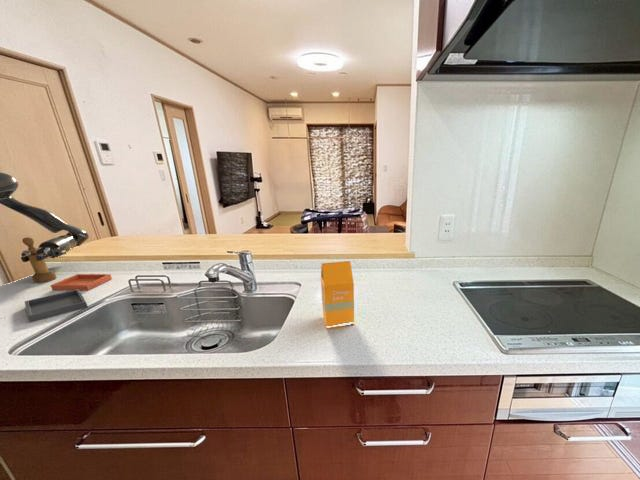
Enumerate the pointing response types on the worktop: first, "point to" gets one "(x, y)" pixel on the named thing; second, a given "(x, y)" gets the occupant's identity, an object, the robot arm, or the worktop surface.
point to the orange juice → (337, 293)
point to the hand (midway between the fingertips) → (30, 259)
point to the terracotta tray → (81, 282)
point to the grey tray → (54, 305)
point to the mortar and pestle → (38, 264)
